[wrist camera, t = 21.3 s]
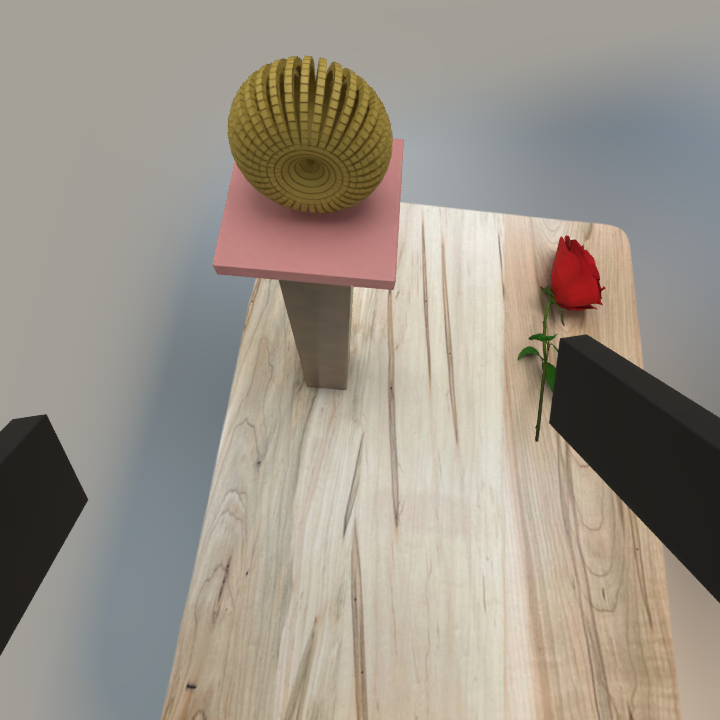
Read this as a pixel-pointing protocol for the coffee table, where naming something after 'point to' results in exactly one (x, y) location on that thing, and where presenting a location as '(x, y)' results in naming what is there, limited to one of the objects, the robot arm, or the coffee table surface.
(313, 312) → the stand post
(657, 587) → the coffee table surface
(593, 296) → the flower
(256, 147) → the sculpture
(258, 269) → the rose shelf
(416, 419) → the coffee table surface
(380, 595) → the coffee table surface
